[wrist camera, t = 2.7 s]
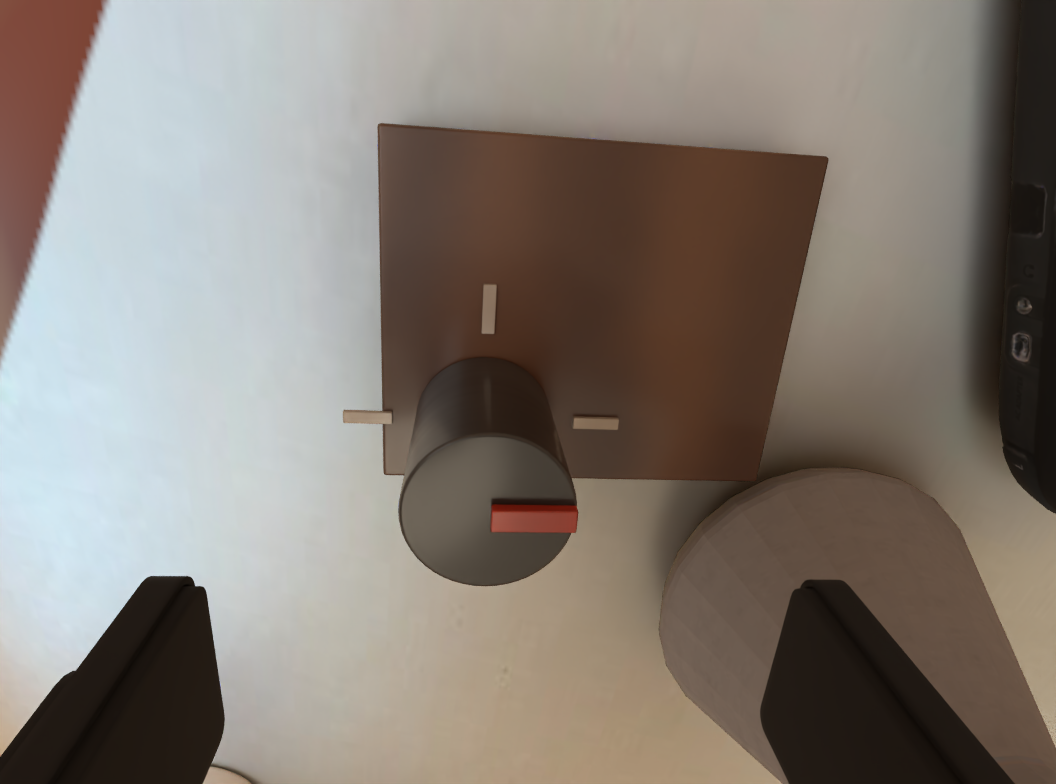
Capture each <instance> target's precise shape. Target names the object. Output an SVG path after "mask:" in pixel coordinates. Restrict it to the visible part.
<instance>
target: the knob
mask: <svg viewBox="0 0 1056 784" xmlns="http://www.w3.org/2000/svg"><path fill="white" fill-rule="evenodd" d="M398 513H399V523H400V527H401V531H402V534H403V536H404V538H405V541H406V543H407V544H408V546H409V548H410V549H411V551H412V552H413V553H414V554H415V556H416V557H417V558H418V559H419V560H420V561H421V562H422V563H423V564H424V565H425V566H426V567H428V568H429V569H431V570H432V571H433V572H435V573H437V574H439V575H440V576H442V577H444V578H447V579H449V580H452V581H455V582H458V583H462V584H467V585H473V586H497V585H503V584H508V583H512V582H515V581H519V580H521V579H524V578H526V577H528V576H530V575H532V574H534V573H536V572H538V571H539V570H541V569H542V568H544V567H545V566H546V565H547V564H549V563H550V562H551V561H552V560H553V559H554V558H555V557H556V556H557V555H558V554H559V553H560V551H561V550H562V549H563V547H564V546H565V544H566V543H567V541H568V539H569V537H570V535H571V533H576V529H577V520H578V510H577V500H576V493H575V489H574V485H573V482H572V479H571V475H570V472H569V469H568V465H567V462H566V459H565V456H564V452H563V449H562V446H561V442H560V439H559V436H558V433H557V429H556V426H555V423H554V420H553V416H552V413H551V410H550V406H549V403H548V400H547V397H546V395H545V393H544V391H543V389H542V387H541V386H540V384H539V383H538V382H537V381H536V379H535V378H534V377H533V376H532V375H530V374H529V373H528V372H527V371H526V370H524V369H523V368H521V367H519V366H517V365H516V364H514V363H511V362H508V361H506V360H502V359H497V358H489V357H478V358H471V359H466V360H463V361H459V362H457V363H455V364H452V365H450V366H449V367H447V368H445V369H444V370H442V371H441V372H440V373H438V374H437V375H436V376H435V377H434V378H433V379H432V380H431V381H430V383H429V384H428V385H427V387H426V388H425V390H424V392H423V393H422V395H421V398H420V400H419V403H418V408H417V412H416V417H415V422H414V428H413V433H412V438H411V443H410V448H409V453H408V458H407V463H406V468H405V474H404V479H403V484H402V489H401V494H400V499H399V510H398Z"/></svg>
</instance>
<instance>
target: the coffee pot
mask: <svg viewBox="0 0 1056 784" xmlns="http://www.w3.org/2000/svg"><path fill="white" fill-rule="evenodd" d="M809 579H814V580H842V581H844V582H846V583H847V584H848V585H849V586H850V587H851V589H852V590H853V591H854V592H855V593H856V595H857V596H858V597H859V598H860V599H861V601H862V602H863V603H864V604H865V605H866V606H867V608H868V609H869V610H870V611H871V612H872V614H873V615H874V616H875V617H876V618H877V620H878V621H879V622H880V623H881V624H882V626H883V627H884V628H885V629H886V630H887V632H888V633H889V634H890V635H891V636H892V638H893V639H894V640H895V641H896V642H897V644H898V645H899V646H900V647H901V648H902V649H903V651H904V652H905V653H906V654H907V655H908V657H909V658H910V659H911V660H912V661H913V663H914V664H915V665H916V666H917V667H918V669H919V670H920V671H921V672H922V673H923V675H924V676H925V677H926V678H927V679H928V681H929V682H930V683H931V684H932V685H933V687H934V688H935V689H936V690H937V691H938V692H939V694H940V695H941V696H942V697H943V698H944V700H945V701H946V702H947V703H948V704H949V706H950V707H951V708H952V709H953V710H954V712H955V713H956V714H957V715H958V716H959V718H960V719H961V720H962V721H963V722H964V724H965V725H966V726H967V727H968V728H969V730H970V731H971V732H972V733H973V734H974V735H975V737H976V738H977V739H978V740H979V741H980V743H981V744H982V745H983V746H984V747H985V749H986V750H987V751H988V752H989V753H990V755H991V756H992V757H993V758H994V759H995V761H996V762H997V763H998V764H999V765H1000V767H1001V768H1002V769H1003V770H1004V771H1005V773H1006V774H1007V775H1008V776H1009V777H1010V778H1011V780H1012V781H1013V782H1014V783H1015V784H1056V748H1055V745H1054V743H1053V741H1052V739H1051V736H1050V734H1049V732H1048V729H1047V727H1046V725H1045V723H1044V720H1043V718H1042V716H1041V713H1040V711H1039V709H1038V707H1037V704H1036V702H1035V700H1034V697H1033V695H1032V693H1031V691H1030V688H1029V686H1028V684H1027V682H1026V679H1025V677H1024V675H1023V672H1022V670H1021V668H1020V666H1019V663H1018V661H1017V659H1016V656H1015V654H1014V652H1013V650H1012V647H1011V645H1010V643H1009V640H1008V638H1007V636H1006V634H1005V631H1004V629H1003V627H1002V624H1001V622H1000V620H999V618H998V615H997V613H996V611H995V609H994V606H993V604H992V602H991V599H990V597H989V595H988V593H987V590H986V588H985V586H984V583H983V581H982V579H981V577H980V574H979V572H978V570H977V567H976V565H975V563H974V561H973V558H972V556H971V554H970V551H969V549H968V547H967V545H966V542H965V540H964V538H963V535H962V533H961V531H960V529H959V528H958V527H957V525H956V524H955V523H954V522H953V521H952V519H951V518H950V517H949V516H948V515H947V513H946V512H945V511H944V510H943V508H942V507H941V506H940V505H939V504H938V502H937V501H936V500H935V499H934V498H932V497H930V496H929V495H927V494H925V493H923V492H922V491H920V490H918V489H917V488H915V487H913V486H912V485H910V484H908V483H906V482H905V481H903V480H900V479H898V478H894V477H889V476H885V475H881V474H877V473H872V472H868V471H864V470H858V469H851V468H844V467H843V468H811V469H803V470H799V471H795V472H791V473H788V474H784V475H780V476H776V477H773V478H769V479H766V480H764V481H762V482H760V483H758V484H756V485H754V486H752V487H750V488H749V489H747V490H745V491H743V492H741V493H739V494H737V495H735V496H733V497H731V498H730V499H729V500H727V501H726V502H725V503H724V504H723V505H721V506H720V507H719V508H718V509H716V510H715V511H714V512H713V513H712V514H710V515H709V516H708V517H707V518H705V519H704V520H703V521H702V522H701V523H700V524H699V525H698V527H697V528H696V529H695V531H694V532H693V533H692V534H691V536H690V537H689V538H688V540H687V541H686V542H685V544H684V545H683V546H682V547H681V549H680V550H679V551H678V554H677V556H676V558H675V561H674V563H673V565H672V568H671V570H670V572H669V575H668V577H667V579H666V582H665V587H664V591H663V596H662V605H661V614H660V623H659V635H660V640H661V644H662V649H663V653H664V658H665V662H666V666H667V667H668V669H669V670H670V672H671V674H672V675H673V677H674V678H675V680H676V681H677V683H678V685H679V686H680V688H681V689H682V691H683V692H684V694H685V695H686V696H687V697H688V698H689V699H690V700H691V701H692V702H693V703H694V704H695V705H697V706H698V707H699V708H700V709H701V710H702V711H703V712H704V713H705V714H706V715H708V716H709V717H710V718H711V719H712V720H713V721H714V722H715V723H716V724H718V725H719V726H720V727H721V728H722V729H723V730H724V731H725V732H726V733H727V734H729V735H730V736H731V737H732V738H733V739H734V740H735V741H736V742H737V743H738V744H740V745H741V746H742V747H743V748H744V749H745V750H746V751H747V752H748V753H750V754H751V755H752V756H753V757H754V758H755V759H756V760H757V761H758V762H759V763H761V764H762V765H763V766H764V767H765V768H766V769H767V770H768V771H769V772H770V773H772V774H773V775H774V776H775V777H776V778H777V779H778V780H779V781H780V782H782V783H783V784H789V783H788V780H787V778H786V776H785V774H784V772H783V770H782V768H781V766H780V764H779V762H778V760H777V758H776V756H775V754H774V752H773V750H772V748H771V746H770V744H769V741H768V739H767V737H766V735H765V733H764V731H763V728H762V724H761V719H760V707H761V703H762V699H763V696H764V692H765V689H766V685H767V681H768V678H769V674H770V670H771V667H772V663H773V659H774V656H775V652H776V648H777V645H778V641H779V638H780V634H781V630H782V627H783V623H784V619H785V616H786V612H787V608H788V605H789V601H790V598H791V595H792V592H793V591H794V590H795V589H798V588H800V587H801V585H802V583H803V582H804V581H805V580H809Z"/></svg>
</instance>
